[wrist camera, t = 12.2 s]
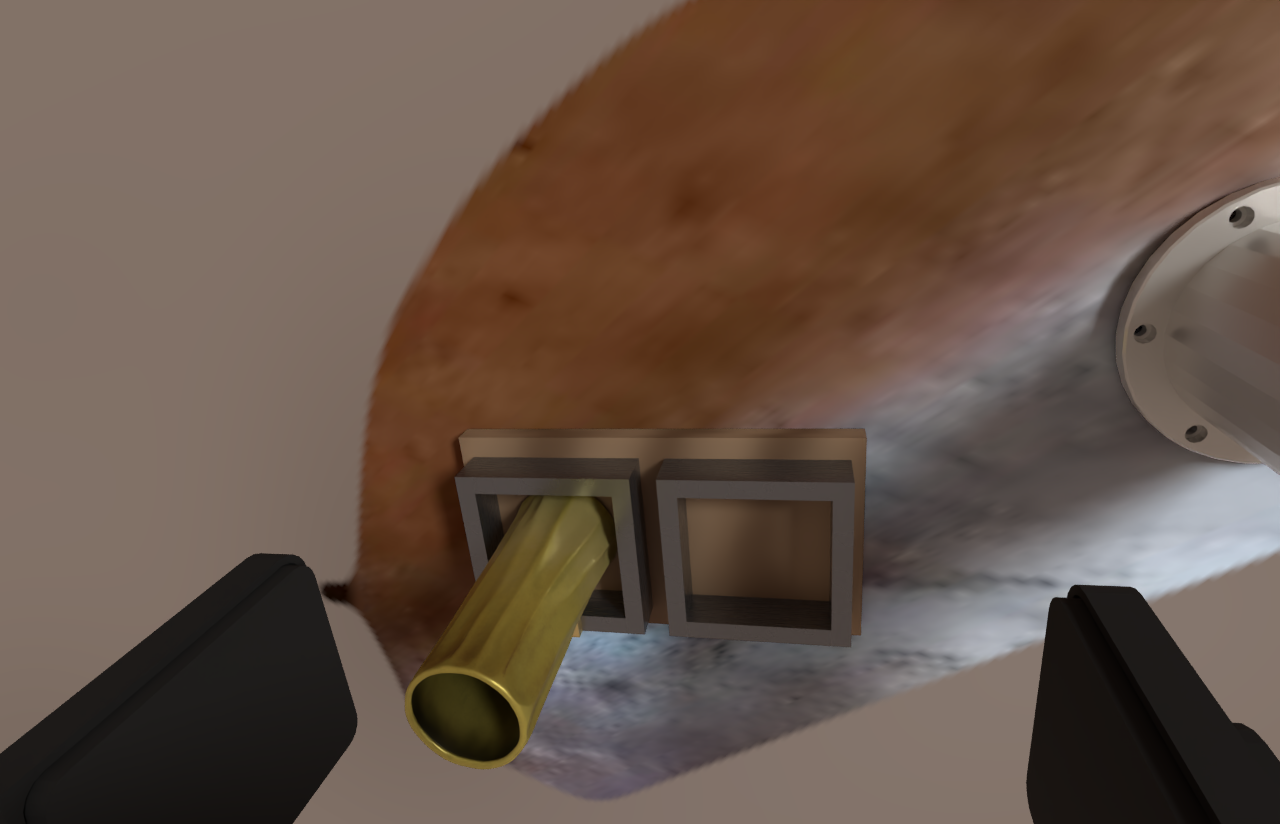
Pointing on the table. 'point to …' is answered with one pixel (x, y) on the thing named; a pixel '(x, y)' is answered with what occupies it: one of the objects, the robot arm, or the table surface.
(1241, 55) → the table surface
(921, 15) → the table surface
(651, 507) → the board
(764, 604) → the two-cubby wall shelf
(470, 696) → the vase
